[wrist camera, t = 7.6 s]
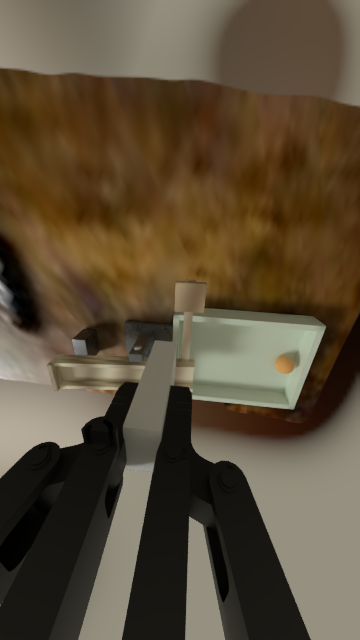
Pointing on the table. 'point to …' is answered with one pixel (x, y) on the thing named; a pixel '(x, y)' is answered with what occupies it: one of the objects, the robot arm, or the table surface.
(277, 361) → the ball
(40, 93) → the table surface
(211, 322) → the tray
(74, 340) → the stand
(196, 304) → the lever
